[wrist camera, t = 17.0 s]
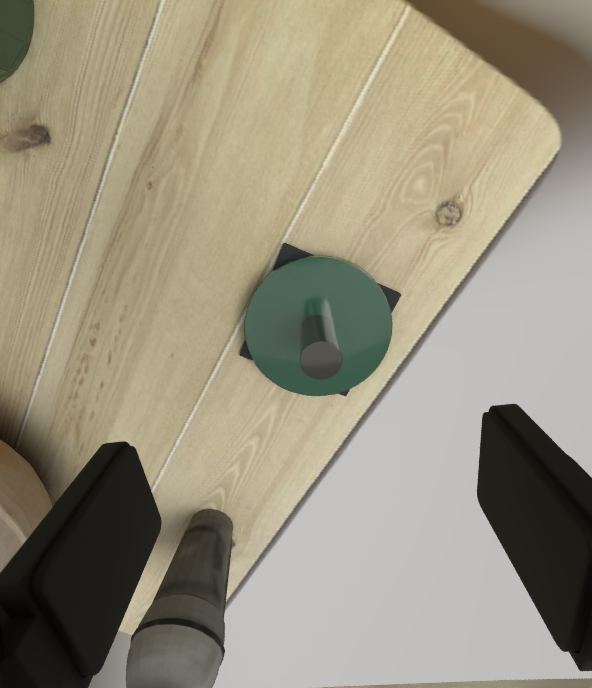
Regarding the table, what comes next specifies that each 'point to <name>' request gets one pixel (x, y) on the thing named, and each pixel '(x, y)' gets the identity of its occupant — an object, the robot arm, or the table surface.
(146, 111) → the table surface
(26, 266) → the table surface
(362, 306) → the lid
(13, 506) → the bowl
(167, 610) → the beverage cup
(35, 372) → the table surface
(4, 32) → the pot
